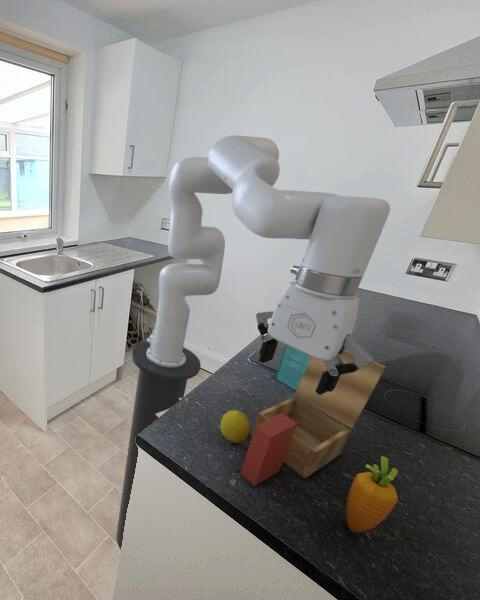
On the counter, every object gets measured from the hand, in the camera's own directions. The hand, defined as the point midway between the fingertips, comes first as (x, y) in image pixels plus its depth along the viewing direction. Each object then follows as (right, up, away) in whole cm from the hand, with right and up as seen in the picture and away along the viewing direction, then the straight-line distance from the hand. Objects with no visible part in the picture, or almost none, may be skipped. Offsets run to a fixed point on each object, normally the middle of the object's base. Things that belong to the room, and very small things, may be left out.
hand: (291, 375), depth 54 cm
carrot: (+8, -26, -2) cm, 27 cm away
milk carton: (+27, -12, +37) cm, 47 cm away
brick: (-1, -21, +8) cm, 23 cm away
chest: (+10, -19, +15) cm, 26 cm away
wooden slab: (+18, -5, +13) cm, 23 cm away
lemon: (-3, -18, +15) cm, 24 cm away
